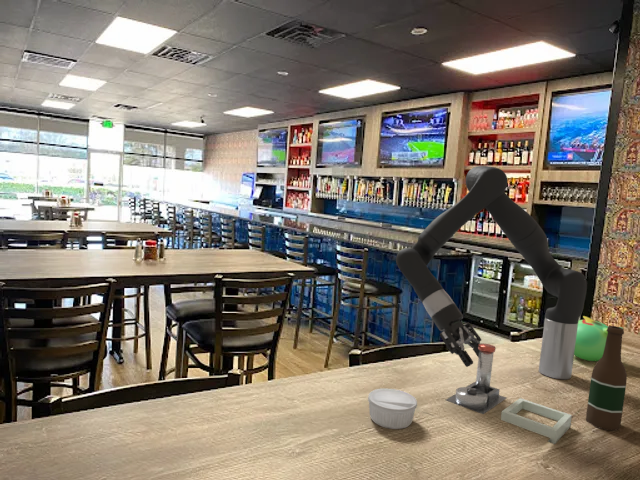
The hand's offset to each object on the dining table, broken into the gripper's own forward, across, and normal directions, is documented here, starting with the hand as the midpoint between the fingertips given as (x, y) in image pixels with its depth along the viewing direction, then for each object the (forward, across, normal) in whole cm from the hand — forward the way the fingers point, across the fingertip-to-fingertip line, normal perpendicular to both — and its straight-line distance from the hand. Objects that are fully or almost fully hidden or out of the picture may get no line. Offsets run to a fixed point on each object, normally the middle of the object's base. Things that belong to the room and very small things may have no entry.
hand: (477, 361), depth 127 cm
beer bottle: (+27, +11, -13) cm, 32 cm away
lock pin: (+8, 0, +5) cm, 9 cm away
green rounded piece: (+16, +67, -2) cm, 69 cm away
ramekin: (+2, -29, +12) cm, 31 cm away
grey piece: (+8, -3, +5) cm, 10 cm away
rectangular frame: (+19, -4, -5) cm, 20 cm away
